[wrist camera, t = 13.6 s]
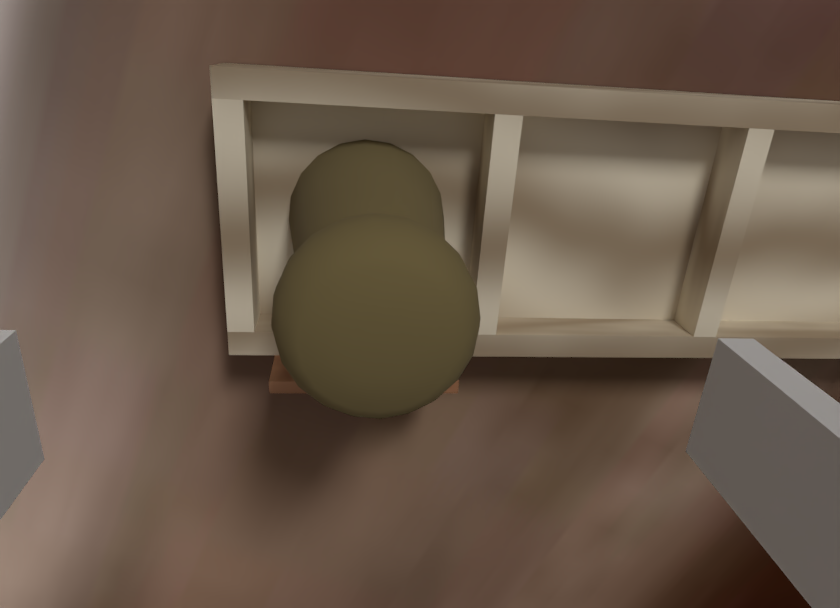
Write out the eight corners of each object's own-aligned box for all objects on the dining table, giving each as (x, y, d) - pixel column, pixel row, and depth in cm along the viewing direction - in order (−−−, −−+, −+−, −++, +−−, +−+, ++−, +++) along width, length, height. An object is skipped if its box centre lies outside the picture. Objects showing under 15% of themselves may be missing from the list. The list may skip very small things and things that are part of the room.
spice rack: (224, 62, 22) (195, 68, 18) (953, 108, 25) (1069, 121, 21) (240, 337, 26) (219, 393, 22) (861, 343, 30) (943, 392, 26)
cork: (465, 167, 23) (552, 263, 13) (416, 305, 26) (459, 478, 16) (310, 117, 22) (278, 182, 12) (272, 268, 24) (218, 430, 14)
